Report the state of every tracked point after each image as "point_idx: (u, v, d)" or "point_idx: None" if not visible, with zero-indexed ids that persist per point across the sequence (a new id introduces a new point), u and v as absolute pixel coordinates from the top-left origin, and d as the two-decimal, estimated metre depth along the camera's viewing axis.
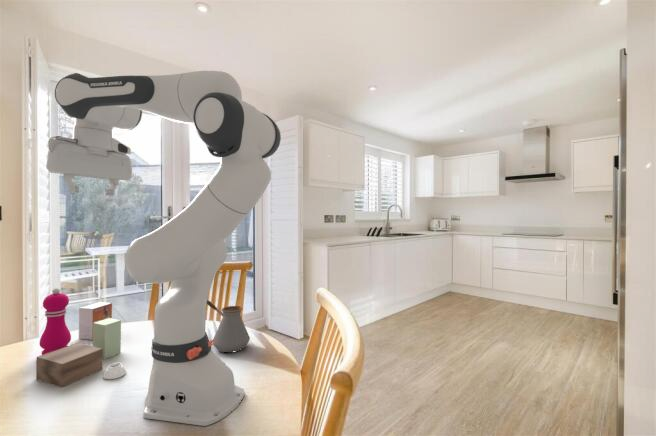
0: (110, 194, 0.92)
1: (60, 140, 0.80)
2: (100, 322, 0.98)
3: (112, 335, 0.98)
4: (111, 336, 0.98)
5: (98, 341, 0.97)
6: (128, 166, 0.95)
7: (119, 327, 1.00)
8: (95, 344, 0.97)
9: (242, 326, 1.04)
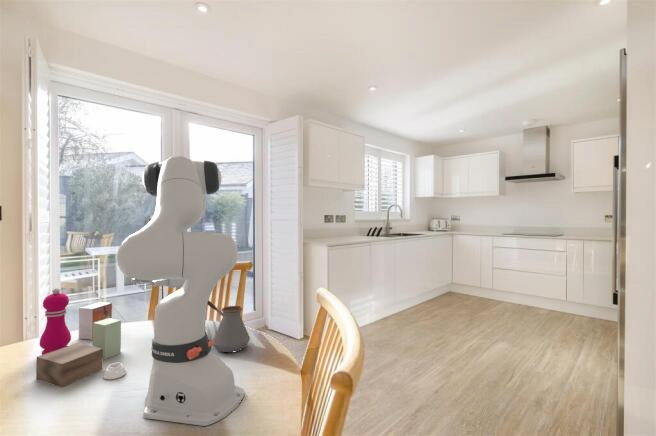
0: (153, 281, 1.09)
1: None
2: (100, 322, 0.98)
3: (112, 335, 0.98)
4: (111, 336, 0.98)
5: (98, 341, 0.97)
6: None
7: (119, 327, 1.00)
8: (95, 344, 0.97)
9: (242, 326, 1.04)
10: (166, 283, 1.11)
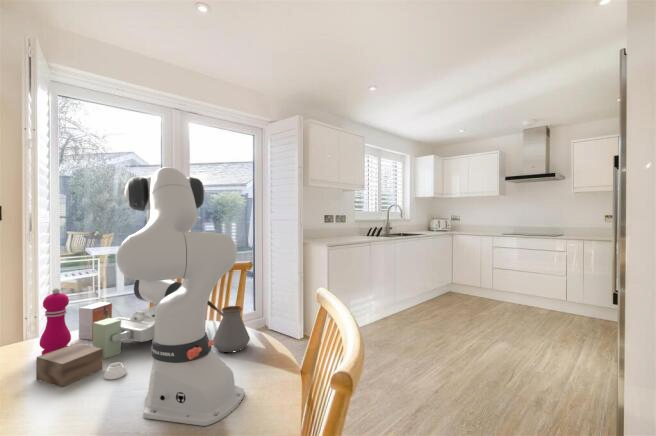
0: (111, 335, 0.98)
1: None
2: (100, 322, 0.98)
3: None
4: None
5: (98, 340, 0.97)
6: (150, 324, 1.03)
7: (119, 327, 1.00)
8: (95, 344, 0.97)
9: (242, 326, 1.04)
10: (127, 336, 1.00)
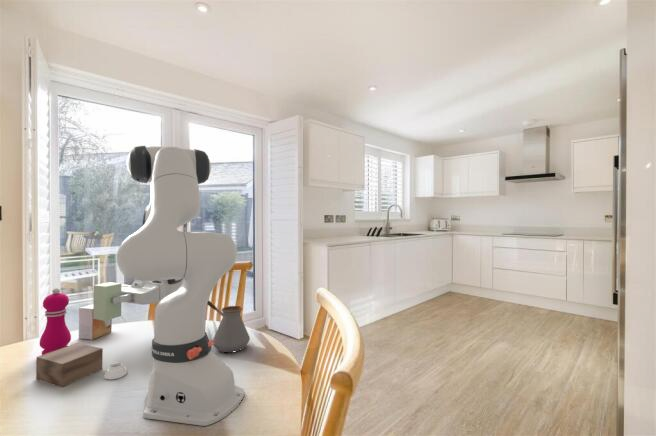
0: (112, 297, 0.97)
1: None
2: (101, 284, 0.98)
3: None
4: None
5: (99, 303, 0.96)
6: (151, 289, 1.03)
7: (120, 290, 1.00)
8: (96, 306, 0.97)
9: (242, 326, 1.04)
10: (128, 299, 1.00)
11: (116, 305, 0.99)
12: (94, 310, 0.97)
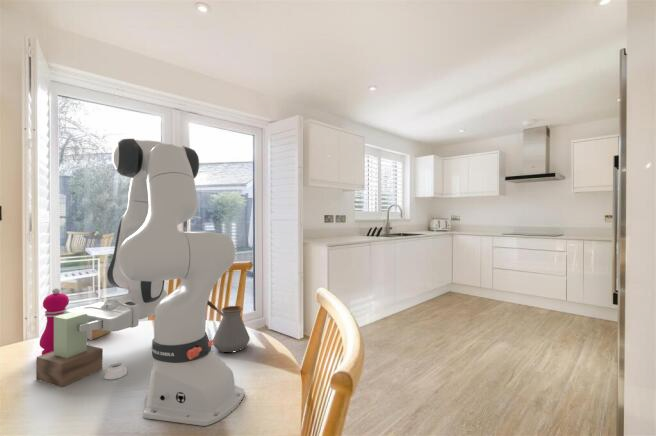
0: (79, 325, 0.85)
1: None
2: (62, 316, 0.85)
3: None
4: (74, 331, 0.85)
5: (60, 337, 0.84)
6: (122, 313, 0.91)
7: (85, 321, 0.88)
8: (56, 341, 0.85)
9: (242, 326, 1.04)
10: (98, 326, 0.87)
11: (80, 339, 0.87)
12: (55, 345, 0.85)
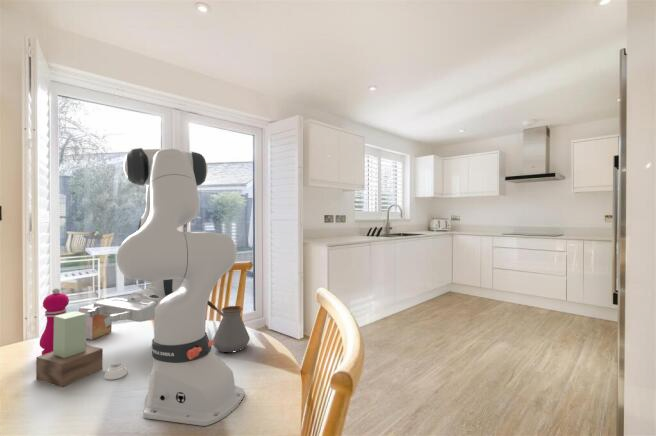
0: (111, 315, 0.93)
1: None
2: (62, 315, 0.86)
3: (75, 331, 0.86)
4: (73, 331, 0.85)
5: (58, 336, 0.84)
6: (148, 305, 0.99)
7: (84, 322, 0.87)
8: (55, 340, 0.85)
9: (242, 326, 1.04)
10: (127, 317, 0.95)
11: (79, 339, 0.87)
12: (54, 345, 0.85)
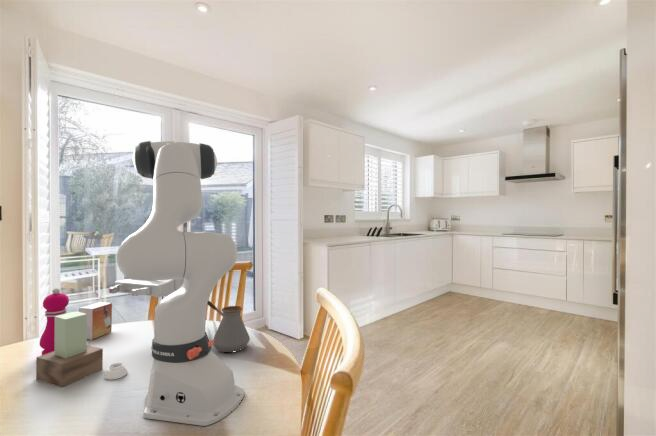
0: (133, 290, 0.98)
1: None
2: (62, 316, 0.86)
3: (76, 331, 0.85)
4: (73, 332, 0.85)
5: (59, 337, 0.84)
6: (166, 281, 1.04)
7: (85, 322, 0.87)
8: (56, 341, 0.85)
9: (242, 326, 1.04)
10: (148, 292, 1.00)
11: (80, 339, 0.86)
12: (55, 345, 0.85)
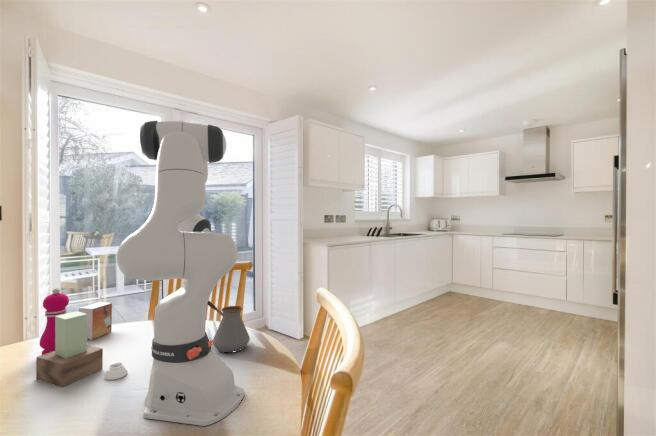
0: None
1: None
2: (63, 316, 0.86)
3: (76, 331, 0.85)
4: (73, 332, 0.85)
5: (60, 337, 0.84)
6: None
7: (85, 322, 0.87)
8: (57, 340, 0.85)
9: (242, 326, 1.04)
10: None
11: (80, 339, 0.86)
12: (56, 345, 0.85)
